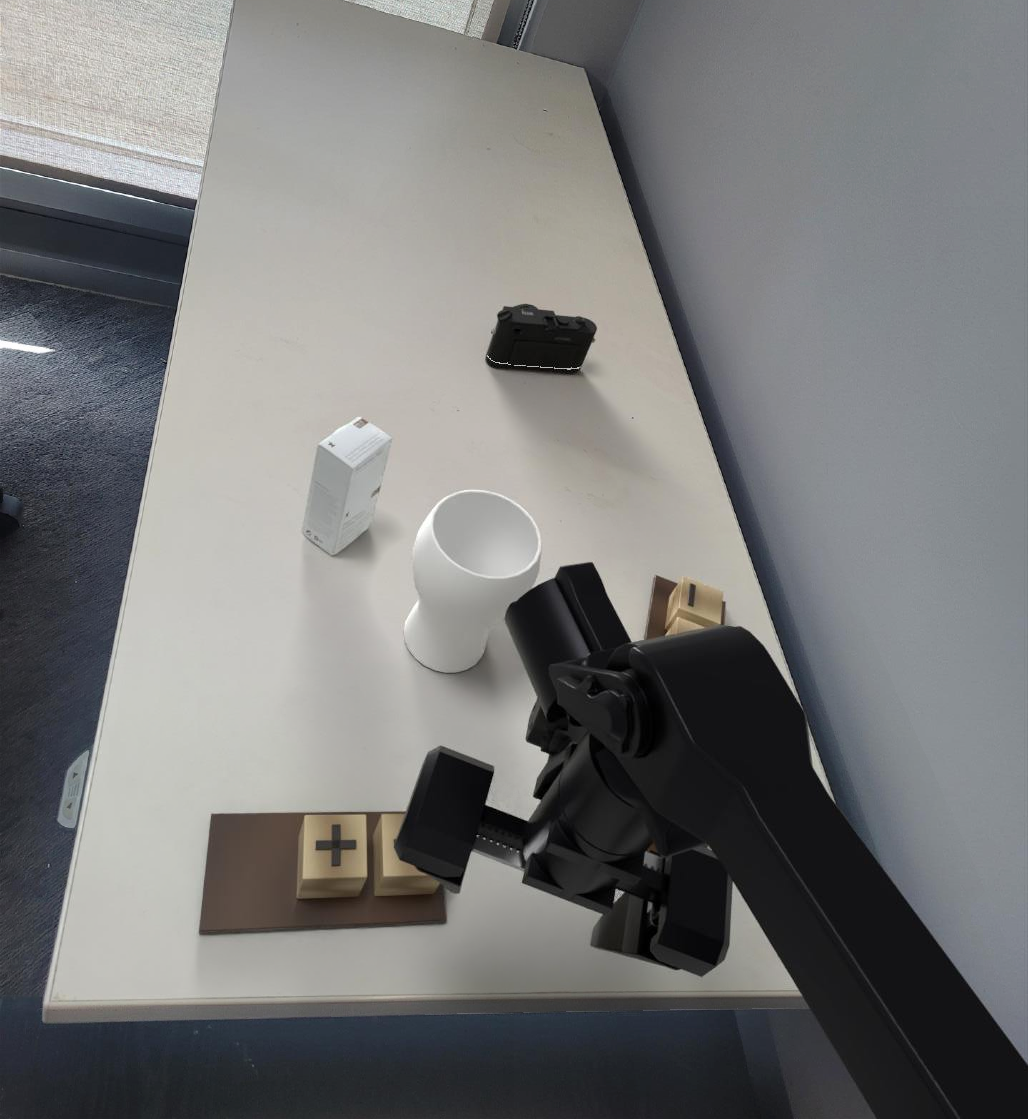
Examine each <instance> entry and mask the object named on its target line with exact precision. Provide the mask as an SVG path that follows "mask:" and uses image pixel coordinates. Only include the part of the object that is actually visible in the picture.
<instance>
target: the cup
mask: <svg viewBox="0 0 1028 1119" xmlns="http://www.w3.org/2000/svg"><path fill="white" fill-rule="evenodd" d="M542 543H543V540H542V536H541V532H540V529H539V527H538V525H537V524H536V522H535V520H534V519H533V517H532V515H531V514H530V513H529V512H528V511H527V510H526V509H525V508H524V507H523V506H522V505H520V504H518V503H517V502H515V501H514V500H512V499H511V498H509V497H506V496H505V495H502V494H500V493H497V492H493V491H489V490H486V489H466V490H460V491H455V492H454V493H452V494H449V495H447V496H445V497H444V498H442V499H441V500H440V501H439V502H438V503H437V504H436V505H435V507H433V509H432V510H431V511H430V513H429V514H428V516H426V517H425V519H424V521H423V523H422V525H420V528H419V530H418V531H417V535H416V538H415V541H414V544H413V547H412V553H411V568H412V569H411V570H412V576H413V577H412V578H413V583H414V588H415V591H416V593H417V596H418V600H417V602H416V603H415V604H414V606H412V609H411V610H410V613H409V615H408V616H407V618H406V620H405V622H404V628H403V636H404V642H405V645H406V647H407V649H408V651H409V652H410V654H411V655H412V656H413V657H414V658H415V660H416V661H418V662H419V663H420V664H422V665H423V666H424V667H427V668H429V669H431V670H434V671H436V672H441V673H446V674H447V673H450V674H451V673H454V674H455V673H459V672H460V673H461V672H464V671H468V670H469V669H471V668H472V667H474V666H476V665H477V664H478V662H479V661H480V660H481V659H482V657H483V655H484V653H485V650H486V646H487V643H488V637H489V632H490V628H491V627H493V626H495V625H497V624H499V623H500V622H502V621H505V614H506V610H507V608H508V607H509V605H510V604H511V603H512V602H514V601H517V600H518V599H519V598H520V597H521V596H523V595H524V594H525V593H526V592H528V591H529V590H531V589H532V588H534V585H535V583H536V581H537V578H538V575H539V574H540V568H541V558H542V548H543V547H542Z"/></svg>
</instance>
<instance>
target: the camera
mask: <svg viewBox="0 0 1028 1119" xmlns="http://www.w3.org/2000/svg"><path fill="white" fill-rule="evenodd" d="M496 317H497V322H496V324H495V327H494V328H491V329H490V334H492V336H491V338H490V340H489V344H488V347H487V351H486V354H485V357H484V358H485V362H486V364H487V365H488V366H490V367H492V368H494V369H499V370H500V369H501V370H513V371H525V372H537V373H538V372H539V373H552V374H553V373H555V374H565V375H567V374H568V375H574V374H578V373H579V372H580V370H581V369H582V366H583V364H584V362H585V360H586V357H587V355H588V352H589V350H590V348H591V346H592V343H595V342H596V338H595V335H596V334H597V330H598V327H597V325H596V323H595V322H594V321H593V320H592V319H589V318H587V317H583V316H580V315H577V316H571V315H570V316H569V315H561V314H556V313H555V311H554V310H550V309H549V310H548V309H539V308H538V307H537V306H535V305H533V304H530V303H520V304H517V305H513V306H509V305H507V306H506V305H503V306H502V310H500V311H498V312H497V313H496ZM487 355H488V356H489V358H491V360H493V361H495V362H500V363H507V362H508V364H511V365H508V364H499V363H495V362H493V361H491V360H490V359H489V358H488V357H487ZM514 365H526V366H514ZM581 365H582V366H581ZM527 366H539V367H527ZM540 366H541V367H553V368H540ZM580 366H581V368H579V369H571V370H567V369H554V367H555V368H571V367H572V368H577V367H580Z"/></svg>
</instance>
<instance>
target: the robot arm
mask: <svg viewBox="0 0 1028 1119" xmlns="http://www.w3.org/2000/svg"><path fill="white" fill-rule="evenodd" d="M504 621H505V625H506V627H507V630H508V632H509V634H510V636H511V637H510V638H511V639H512V641H513V643H514V646H515V649H516V651H517V654H518V655H519V659H520V660H521V662H522V665H523V667H524V669H525V672H526V674H527V676H528V677H527V678H528V679H529V682H530V683H531V686H532V689H533V691H534V692H535V695H536V700H535V703H534V705H533V706H532V709H531V711H530V714H529V717H528V721H527V722H528V723H527V728H526V733H525V742H526V743H528V744H531V745H533V746H535V747H538V748H540V752H542V753H544V754H547V755H548V757H547V762H546V763H545V765H544V766H543V768H542V769H541V771H540V773H539V774H538V776H537V777H536V781H535V786H534V789H533V794H532V798H534V799H536V800H538V801H540V802H539V803H538V805H537V807H536V808H535V810H534V811H533V812H532V814H531V816H530V817H529V819H528V820H526V819H525V818H524V819H523V818H521V817H518V816H516V815H513V814H511V813H508V812H505V811H503V810H500V809H498V808H495V807H492V806H490V805H488V804H486V803H487V800H488V797H489V793H490V789H491V786H492V782H493V778H494V775H495V765H493V764H490V763H488V762H485V761H482V760H480V759H478V758H475V757H472V756H470V755H467V754H464V753H463V752H459V751H457V750H454V749H452V748H450V747H447V746H444V745H438V746H436V747H434V748H433V749H431V750H429V751H427V753H426V755H425V758H424V760H423V762H422V764H421V766H420V771H419V772H418V776H417V778H416V781H415V785H414V787H413V790H412V793H411V796H410V797H409V801H408V804H407V807H406V809H405V811H406V812H405V815H404V818H403V821H402V824H401V827H400V829H399V832H398V835H397V838H396V841H395V844H394V849H395V851H396V853H397V856H398V858H399V860H400V861H403V862H406V863H408V864H411V865H413V866H415V868H416V869H417V870H418V871H420V872H422V873H424V874H427V875H429V876H430V877H432V878H433V879H435V880H436V881H438V882H439V883H441V884H442V885H443V886H444V888H446V889H447V891H449V892H450V893H451V894H454V895H458V894H460V892H461V890H462V886H463V882H464V879H465V875H466V872H467V868H468V864H469V861H470V858H471V854H472V853H475V854H477V855H481V856H483V857H486V858H488V859H491V860H493V861H495V862H498V863H500V864H503V865H506V866H509V867H511V868H514V869H516V870H519V871H521V872H523V875H522V879H521V884H523V885H525V886H528V887H530V888H534V889H536V890H538V891H541V892H544V893H547V894H549V895H551V896H554V897H555V898H559V899H562V900H565V901H566V902H569V903H572V904H574V905H577V906H579V907H581V908H582V907H583V908H585V909H587V910H590V911H592V912H595V913H598V914H601V916H600V917H599V918H598V920H597V921H596V923H595V925H594V926H593V928H592V930H591V937H590V942H589V944H590V947H592V948H594V949H596V950H601V951H605V952H608V953H612V954H617V955H621V956H625V957H628V958H631V959H635V960H639V961H643V962H647V963H650V964H654V965H657V966H660V967H664V968H666V969H670V970H673V971H681V970H682V971H685V972H687V973H690V974H693V975H695V976H698V977H700V978H703V977H704V976H705V975H707V974H708V973H710V972H711V971H712V970H714V969H715V968H716V967H718V966H719V965H720V964H721V963H723V962H724V961H725V959H726V957H727V954H728V951H729V948H730V945H731V943H730V942H731V925H732V924H731V923H732V906H733V905H732V904H733V886H734V885H735V887H736V889H737V891H738V892H739V894H740V895H741V898H742V899H743V901H744V902H745V904H746V906H747V908H748V909H749V911H750V912H751V914H752V915H753V917H754V919H755V920H756V923H757V924H758V926H759V927H760V929H761V931H762V932H763V933H764V935H765V937H766V939H767V940H768V942H769V943H770V945H771V947H772V948H773V950H774V953H775V954H776V956H777V957H778V959H779V960H780V962H781V964H782V965H783V967H784V968H785V970H786V972H787V973H788V975H789V977H790V978H791V980H792V982H793V983H794V985H795V986H796V988H797V990H798V992H799V993H800V995H801V997H802V998H803V1000H804V1002H805V1003H806V1005H807V1006H808V1008H809V1010H810V1011H811V1013H812V1015H813V1016H814V1018H815V1019H816V1021H817V1023H818V1025H819V1026H820V1028H821V1030H822V1031H823V1033H824V1035H825V1036H826V1038H827V1040H828V1041H829V1043H830V1044H831V1046H832V1048H833V1049H834V1051H835V1053H836V1054H837V1056H838V1058H839V1059H840V1061H841V1062H842V1064H843V1065H844V1067H845V1069H846V1071H847V1072H848V1074H849V1076H850V1077H851V1080H853V1082H854V1084H855V1086H856V1087H857V1089H858V1091H859V1093H860V1094H861V1095H862V1097H863V1100H864V1101H865V1102H866V1104H867V1106H868V1107H869V1109H870V1111H871V1113H872V1114H873V1115H874V1117H875V1118H876V1119H1028V1062H1027V1061H1026V1060H1025V1058H1024V1057H1023V1056H1022V1054H1021V1053H1020V1051H1019V1050H1018V1049H1017V1047H1016V1046H1015V1044H1014V1043H1013V1042H1012V1041H1011V1039H1010V1038H1009V1036H1008V1035H1007V1034H1006V1033H1005V1031H1004V1030H1003V1029H1002V1027H1001V1026H1000V1025H999V1023H998V1022H997V1021H996V1019H995V1018H994V1017H993V1015H992V1014H991V1012H990V1011H989V1010H988V1008H987V1007H986V1005H985V1004H984V1003H983V1001H982V1000H981V999H980V997H979V996H978V995H977V993H976V992H975V991H974V989H973V988H972V987H971V985H970V984H969V982H968V981H967V980H966V979H965V977H964V976H963V975H962V973H961V972H960V970H959V969H958V968H957V966H956V964H954V962H953V961H952V959H951V958H950V957H949V955H948V954H947V953H946V951H945V950H944V949H943V947H942V946H941V945H940V943H939V942H938V941H937V939H936V937H934V935H933V933H932V932H931V931H930V930H929V928H928V927H927V926H926V924H925V923H924V922H923V920H922V919H921V918H920V916H919V915H918V914H917V912H916V911H915V910H914V907H912V905H911V904H910V902H909V901H908V900H907V899H906V897H905V896H904V894H903V893H902V892H901V891H900V889H899V888H898V886H897V885H896V884H895V883H894V881H893V879H892V878H891V877H890V876H889V874H888V873H887V871H886V870H885V869H884V867H883V866H882V865H881V863H880V862H879V860H878V859H877V858H876V857H875V855H874V853H873V852H872V851H871V849H870V848H869V847H868V845H866V843H865V842H864V840H863V839H862V838H861V836H860V835H859V833H858V832H857V831H856V829H855V828H854V827H853V825H852V824H851V822H850V821H849V820H848V818H847V817H846V816H845V814H844V813H843V812H842V810H841V809H840V808H839V807H838V805H837V804H836V803H835V801H834V800H833V798H832V796H831V795H830V794H829V791H828V790H827V789H826V787H825V785H824V784H823V781H822V780H821V778H820V777H819V775H818V773H817V772H816V770H815V768H814V766H813V758H812V748H811V740H810V730H809V723H808V717H807V714H806V712H805V710H804V708H803V707H802V706H801V704H800V702H799V701H798V698H797V697H796V695H795V694H794V692H793V690H792V689H791V687H790V686H789V684H788V682H787V680H786V679H785V677H784V675H783V674H782V672H781V670H780V669H779V667H778V665H777V664H776V662H775V661H774V659H773V657H772V655H771V654H770V653H769V651H768V649H767V648H766V647H765V645H764V644H763V643H762V642H761V641H760V640H759V639H758V638H757V637H756V636H755V635H754V634H753V633H752V632H751V631H750V630H748V629H746V628H744V627H743V626H741V625H737V626H733V625H725V624H724V625H717V626H712V627H706V628H701V629H696V630H691V631H686V632H681V633H676V634H671V635H666V636H661V637H656V638H651V639H646V640H644V639H642V640H636V641H632V640H631V637H630V636H629V634H628V631H627V630H626V628H625V626H624V624H623V621H622V620H621V618H620V617H619V615H618V612H617V611H616V609H615V607H614V604H613V603H612V601H611V600H610V597H609V595H608V593H607V590H606V587H605V585H604V582H603V579H602V577H601V575H600V573H599V572H598V570H597V568H596V566H595V563H594V562H592V561H587V562H578V563H573V564H566V565H560V566H559V568H558V570H557V572H556V573H555V576H554V577H552V578H549V579H547V580H545V581H543V582H541V583H539V584H537V585H535V586H533V587H532V589H531V590H529V591H528V592H526V593H525V594H524V595H523V596H521V597H520V598H519V599H518V600H517V601H514V602H512V603H511V604H510V605H509V607H508V608H507V610H506V614H505V619H504ZM653 843H654V845H655V847H656V849H657V851H658V852H655V851H653V850H649V851H648V852H646V851H647V850H648V849H649V847H650V846H651V845H652V844H653ZM706 844H707V845H708V847H709V848H708V847H707V848H704V847H702V846H703V845H706ZM733 884H734V885H733ZM616 890H617V891H620V892H622V894H621V895H620V896H619V897H618V899H616V900H615V897H616V892H617V891H616Z"/></svg>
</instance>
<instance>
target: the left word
mask: <svg viewBox="0 0 1028 1119" xmlns="http://www.w3.org/2000/svg"><path fill="white" fill-rule="evenodd" d="M405 812H406V810H405V811H403V810H402V811H400V810H399V811H395V810H394V811H318V812H317V811H304V812H303V811H302V812H301V811H299V812H295V811H293V812H287V811H286V812H214V813H213V812H212V813H211V814H210V821H209V830H208V840H207V850H206V858H205V868H204V878H203V886H202V887H203V888H202V899H201V908H200V918H199V928H198V935H207V934H208V935H210V934H230V933H231V934H232V933H233V934H234V933H253V932H275V931H295V930H296V931H297V930H316V929H317V930H319V929H320V930H321V929H338V928H339V929H342V928H360V927H361V928H363V927H381V926H382V927H384V926H405V925H406V926H407V925H428V924H430V925H431V924H444V923H446V921H447V909H446V899H445V897H446V896H445V886H443V885H442V884H441V883H439V882H438V881H436V880H435V879H433V878H432V877H430V876H429V875H427V874H424V873H422V872H420V871H418V870H417V869H416V868H415V866H413V865H411V864H408V863H406V862H403V861H400V860H399V858H398V856H397V853H396V851H395V849H394V844H395V841H396V838H397V835H398V832H399V829H400V827H401V824H402V821H403V818H404V815H405Z"/></svg>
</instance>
